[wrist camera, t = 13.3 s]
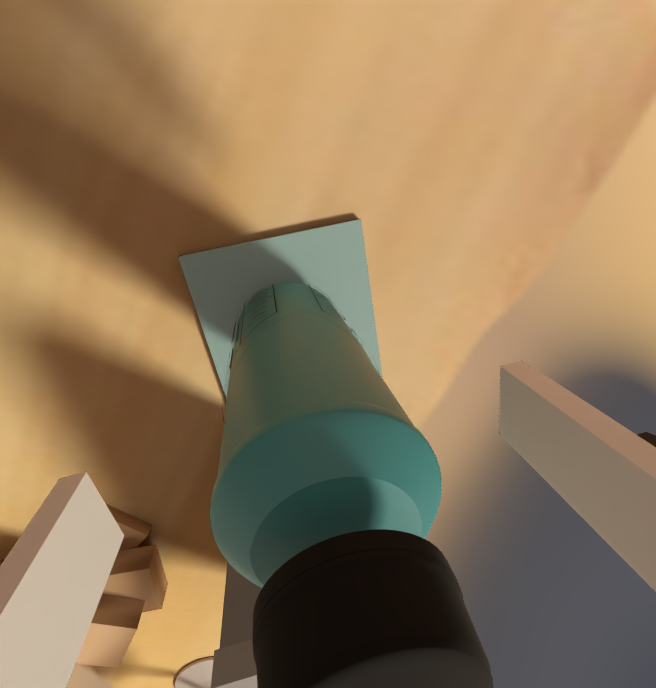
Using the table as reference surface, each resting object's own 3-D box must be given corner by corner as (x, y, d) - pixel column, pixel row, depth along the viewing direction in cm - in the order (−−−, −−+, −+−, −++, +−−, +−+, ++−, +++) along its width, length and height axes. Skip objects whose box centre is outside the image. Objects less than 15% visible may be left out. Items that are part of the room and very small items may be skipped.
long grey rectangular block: (237, 433, 27) (210, 688, 13) (269, 425, 27) (276, 668, 13) (290, 588, 34) (310, 859, 20) (315, 580, 34) (352, 844, 20)
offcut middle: (156, 544, 28) (148, 568, 27) (167, 583, 30) (161, 608, 28) (-33, 576, 27) (-55, 604, 25) (-9, 615, 28) (-28, 644, 26)
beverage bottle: (220, 290, 22) (43, 725, 4) (325, 260, 23) (594, 534, 4) (255, 380, 25) (241, 890, 7) (348, 352, 25) (576, 760, 7)
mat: (179, 255, 22) (177, 257, 21) (359, 218, 23) (361, 219, 22) (232, 409, 26) (231, 413, 26) (380, 373, 27) (382, 376, 26)
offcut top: (145, 600, 28) (136, 629, 26) (126, 638, 29) (117, 667, 27) (-26, 573, 24) (-50, 603, 22) (-40, 616, 25) (-64, 649, 23)
